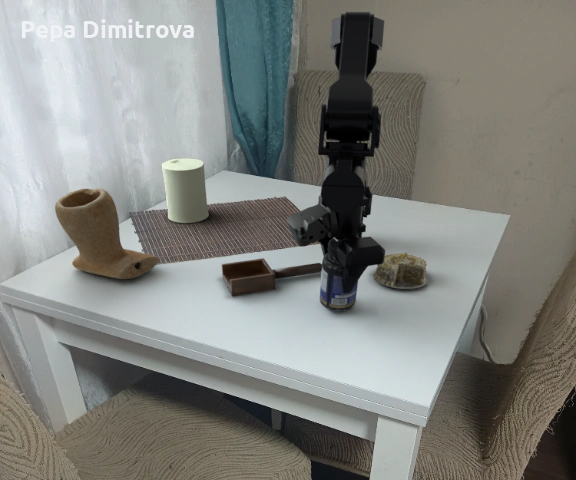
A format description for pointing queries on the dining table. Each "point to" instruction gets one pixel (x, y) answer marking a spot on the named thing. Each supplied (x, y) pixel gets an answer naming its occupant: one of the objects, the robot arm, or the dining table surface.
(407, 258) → the cake
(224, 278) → the scoop
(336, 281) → the pill bottle
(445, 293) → the dining table surface
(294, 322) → the dining table surface
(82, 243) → the clay pipe bowl
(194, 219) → the can
